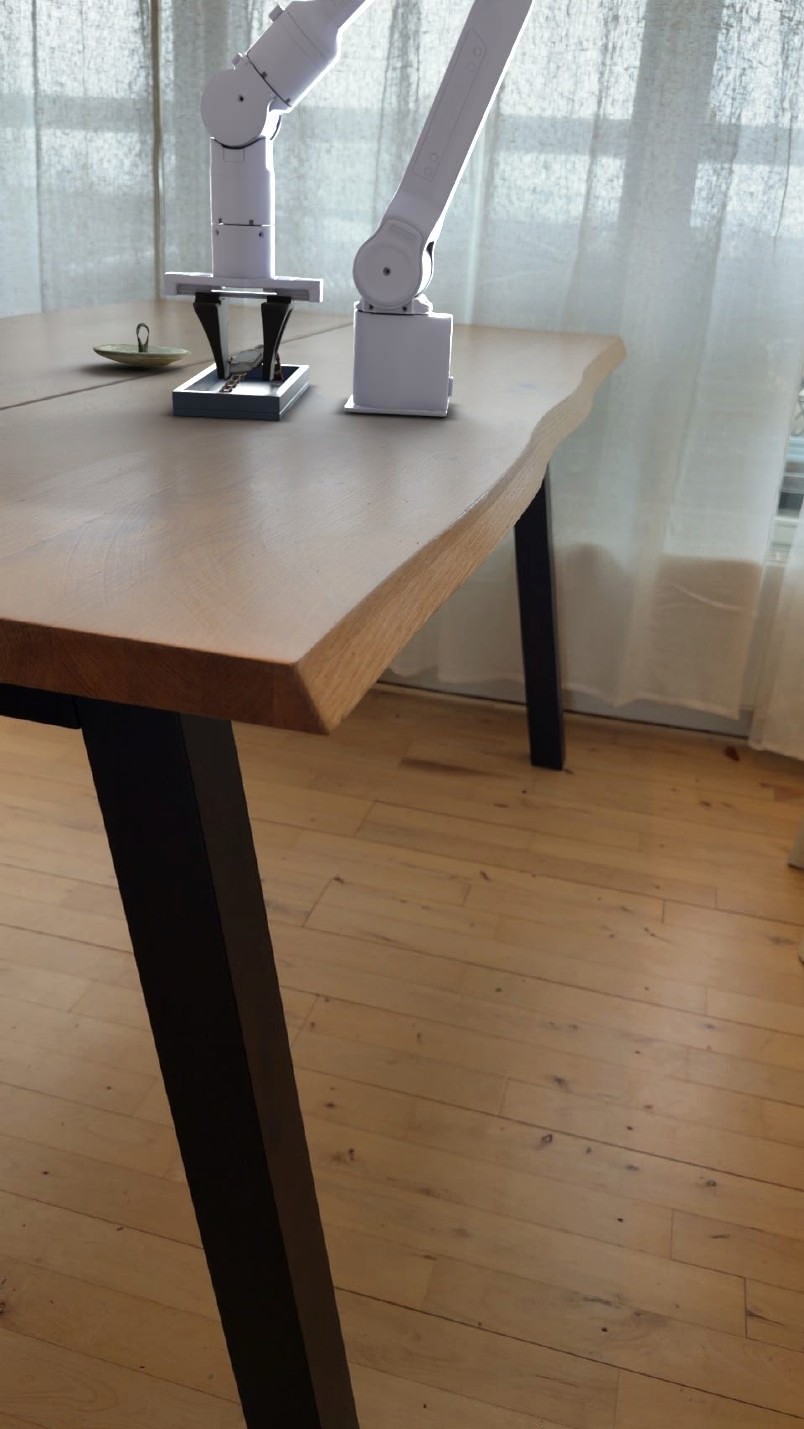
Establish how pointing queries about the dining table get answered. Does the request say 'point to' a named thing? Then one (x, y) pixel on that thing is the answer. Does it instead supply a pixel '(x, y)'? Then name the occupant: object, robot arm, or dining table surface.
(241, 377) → the wristwatch
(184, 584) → the dining table surface
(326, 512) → the dining table surface
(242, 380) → the holder
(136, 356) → the lid
